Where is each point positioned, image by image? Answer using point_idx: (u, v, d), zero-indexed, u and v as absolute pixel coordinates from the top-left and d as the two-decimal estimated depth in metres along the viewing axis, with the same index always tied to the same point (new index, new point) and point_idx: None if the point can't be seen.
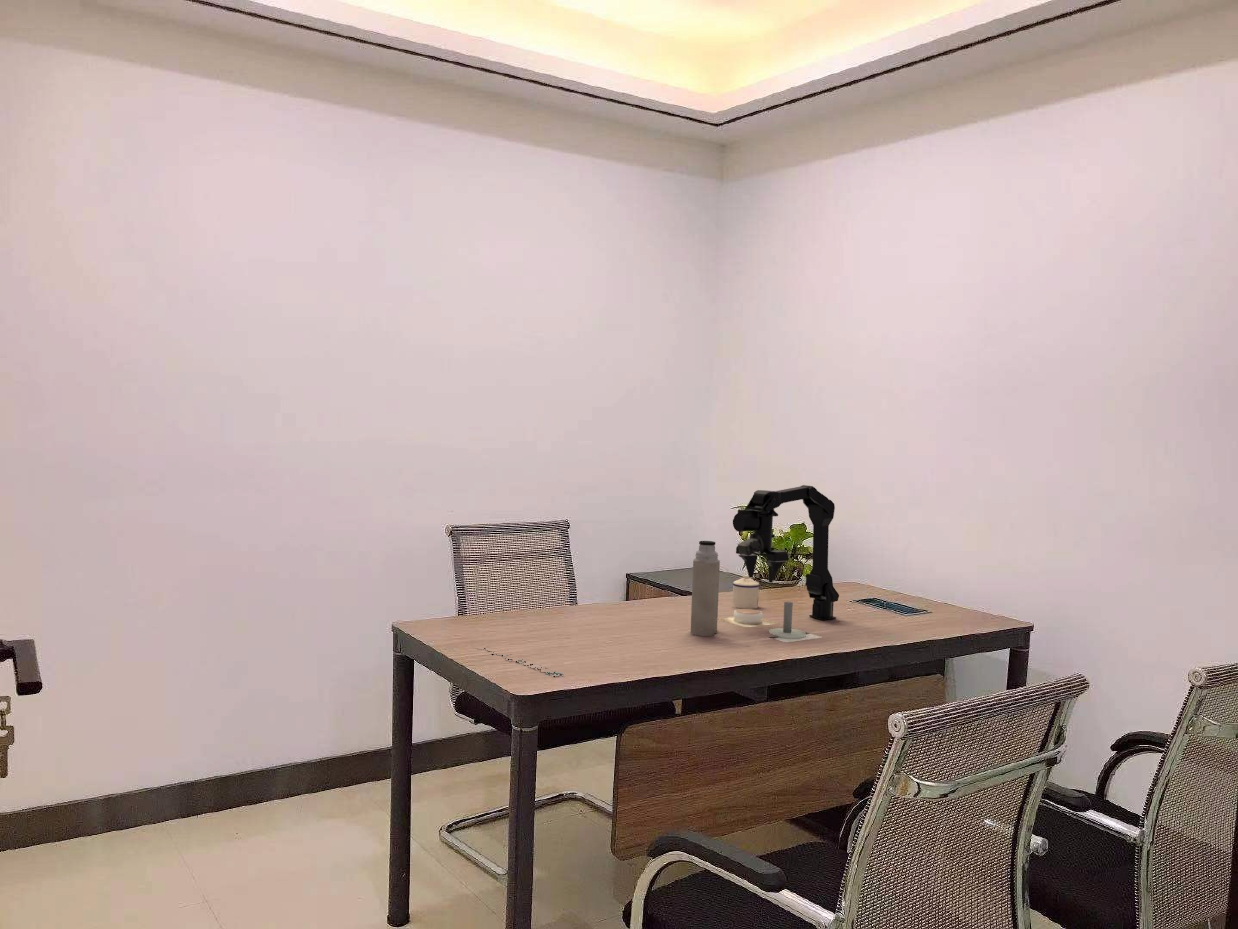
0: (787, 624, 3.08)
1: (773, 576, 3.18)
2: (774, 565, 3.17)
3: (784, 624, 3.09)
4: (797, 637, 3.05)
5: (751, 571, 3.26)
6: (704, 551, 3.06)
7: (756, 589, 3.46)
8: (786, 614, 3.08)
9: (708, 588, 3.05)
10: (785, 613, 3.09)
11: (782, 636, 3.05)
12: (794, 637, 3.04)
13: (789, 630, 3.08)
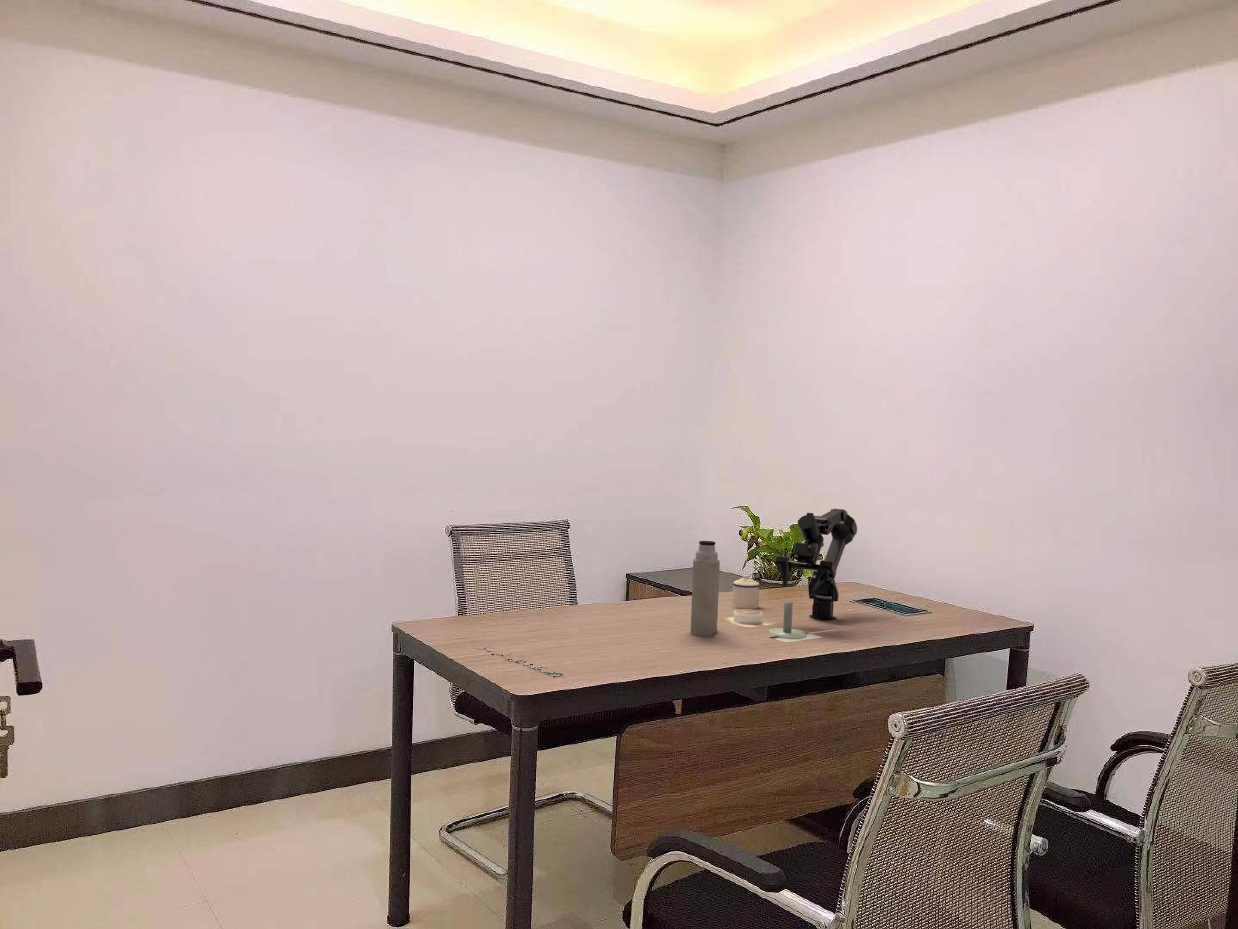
0: (787, 624, 3.08)
1: (816, 586, 3.15)
2: (820, 576, 3.17)
3: (784, 624, 3.09)
4: (797, 637, 3.05)
5: (785, 581, 3.20)
6: (704, 551, 3.06)
7: (756, 589, 3.46)
8: (786, 614, 3.08)
9: (708, 588, 3.05)
10: (785, 613, 3.09)
11: (782, 636, 3.05)
12: (794, 637, 3.04)
13: (789, 630, 3.08)
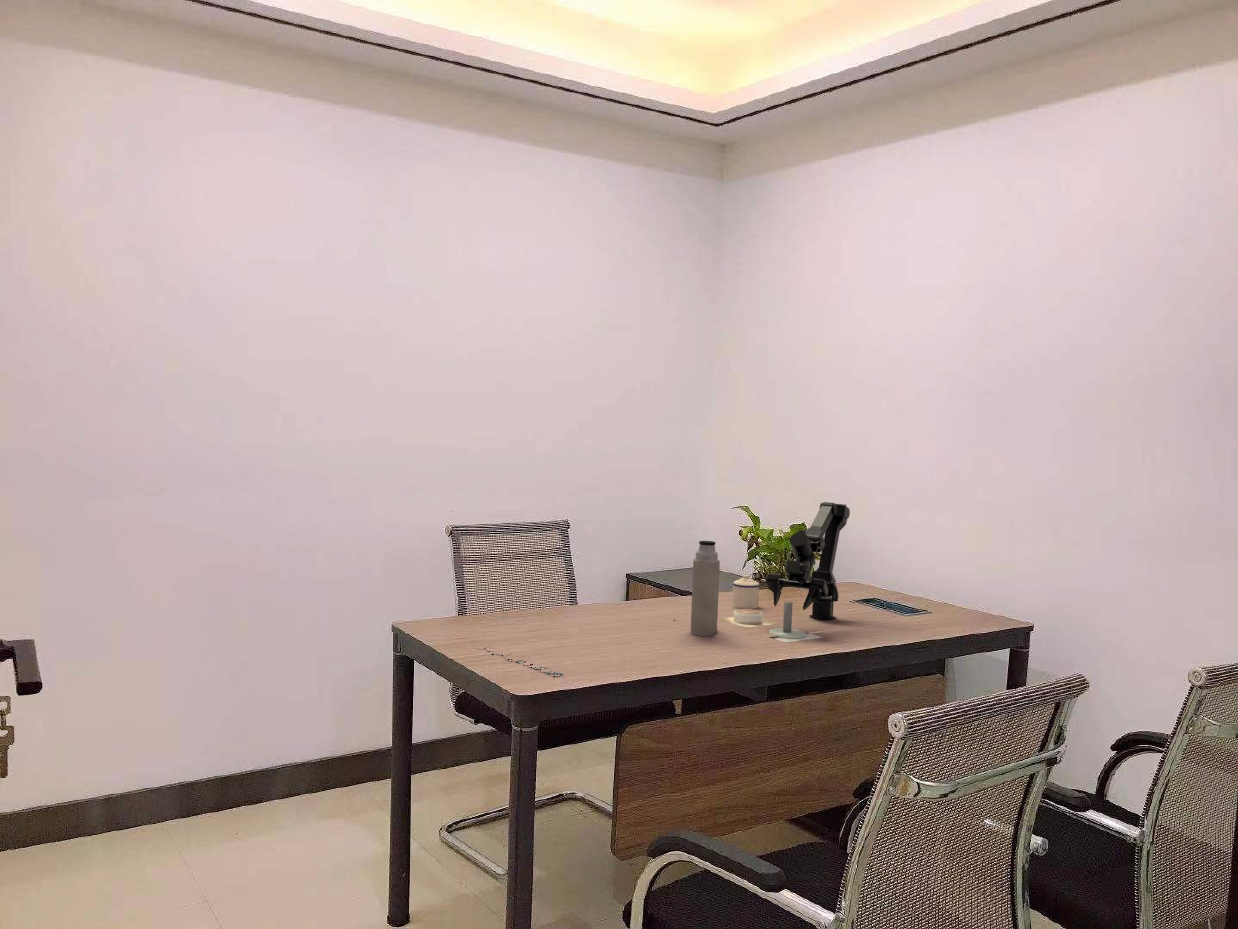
0: (787, 624, 3.08)
1: (808, 605, 3.09)
2: (812, 595, 3.10)
3: (784, 624, 3.09)
4: (797, 637, 3.05)
5: (776, 600, 3.13)
6: (704, 551, 3.06)
7: (756, 589, 3.46)
8: (786, 614, 3.08)
9: (708, 588, 3.05)
10: (785, 613, 3.09)
11: (782, 636, 3.05)
12: (794, 637, 3.04)
13: (789, 630, 3.08)
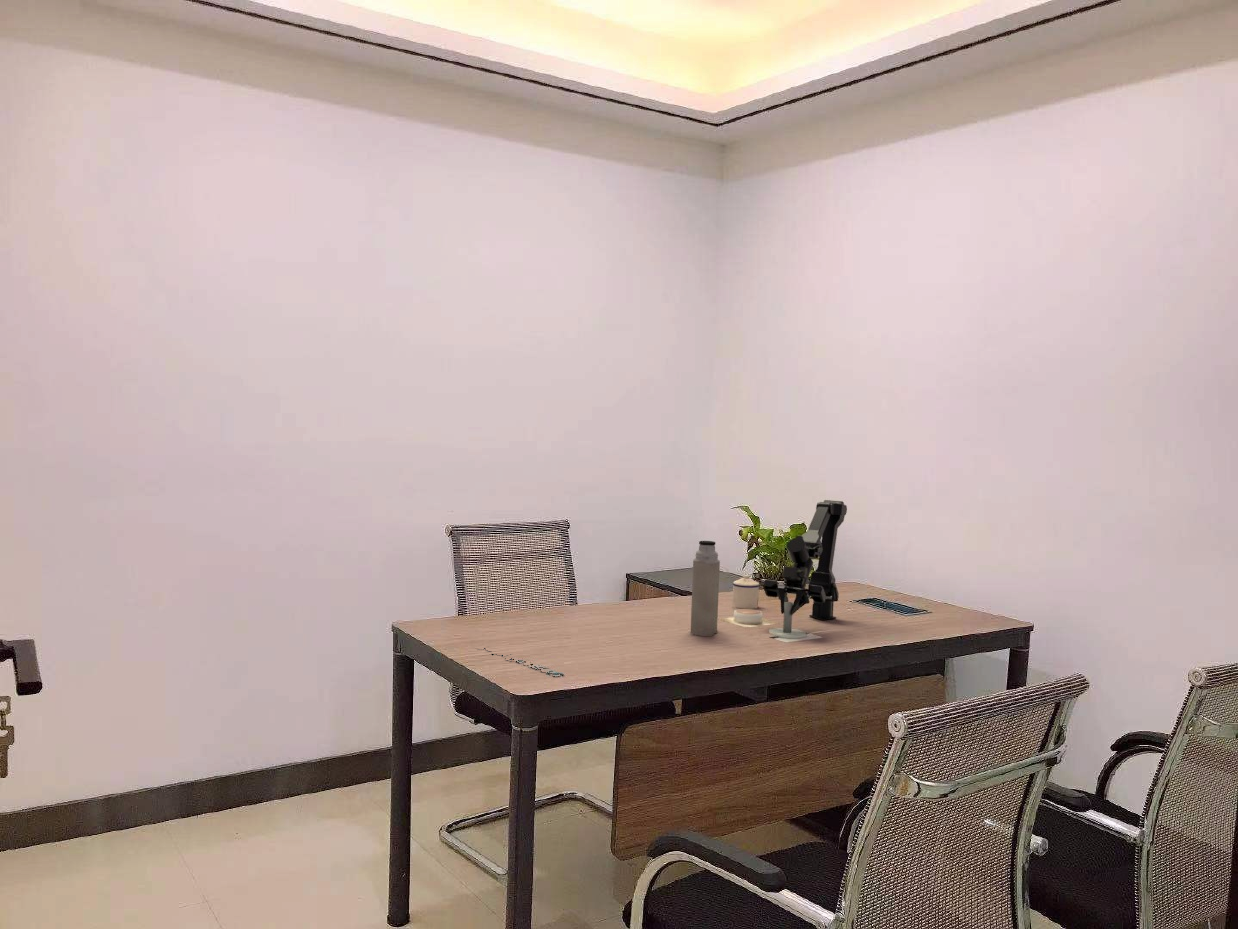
0: (787, 624, 3.08)
1: (795, 610, 3.09)
2: (799, 600, 3.10)
3: (784, 624, 3.09)
4: (797, 637, 3.05)
5: (783, 607, 3.10)
6: (704, 551, 3.06)
7: (756, 589, 3.46)
8: (786, 614, 3.08)
9: (708, 588, 3.05)
10: (785, 613, 3.09)
11: (782, 636, 3.05)
12: (794, 637, 3.04)
13: (789, 630, 3.08)
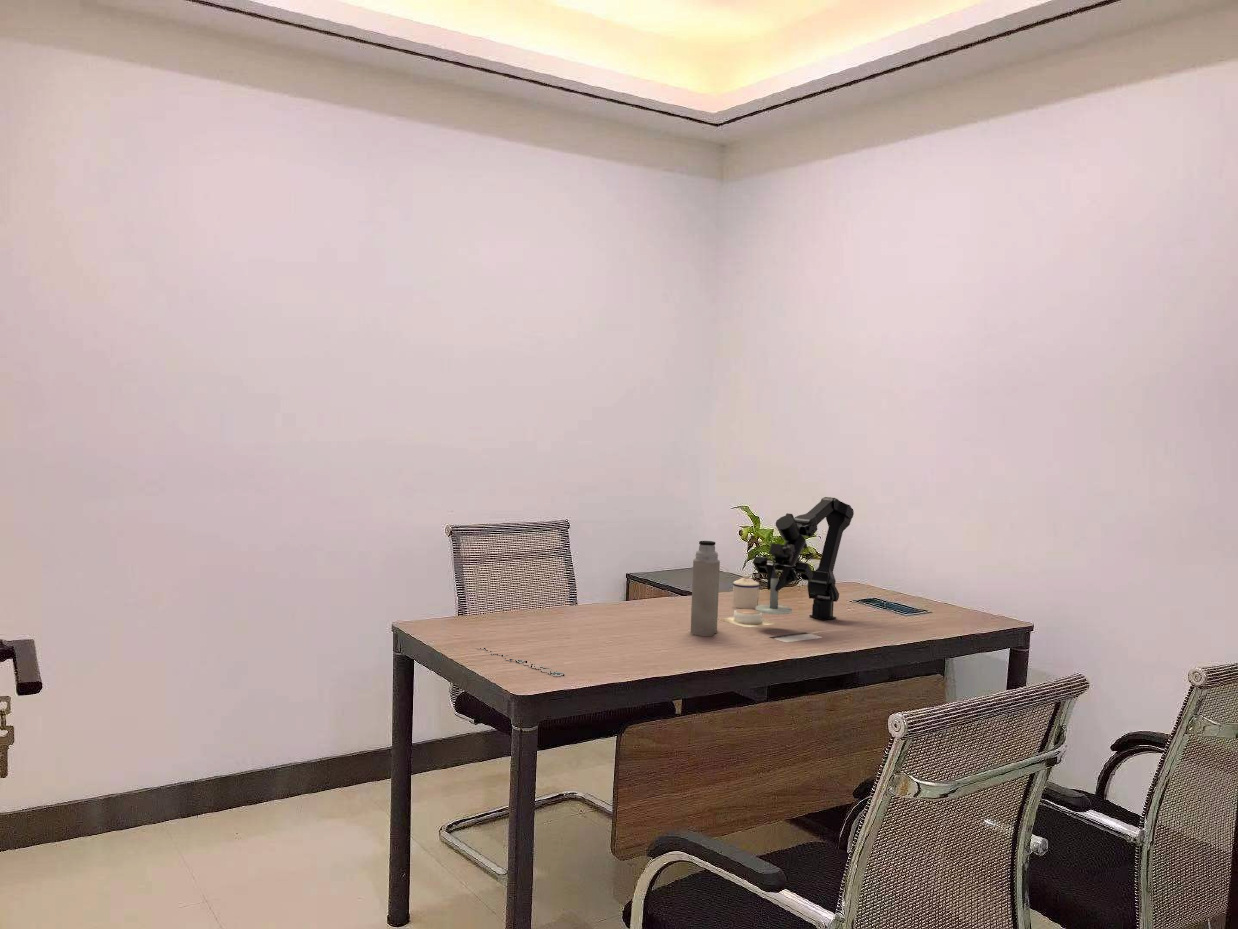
0: (773, 600, 3.12)
1: (781, 586, 3.12)
2: (786, 577, 3.13)
3: (770, 600, 3.13)
4: (781, 613, 3.08)
5: (770, 584, 3.14)
6: (704, 551, 3.06)
7: (756, 589, 3.46)
8: (772, 591, 3.12)
9: (708, 588, 3.05)
10: (771, 589, 3.12)
11: (766, 611, 3.09)
12: (777, 613, 3.08)
13: (774, 606, 3.12)
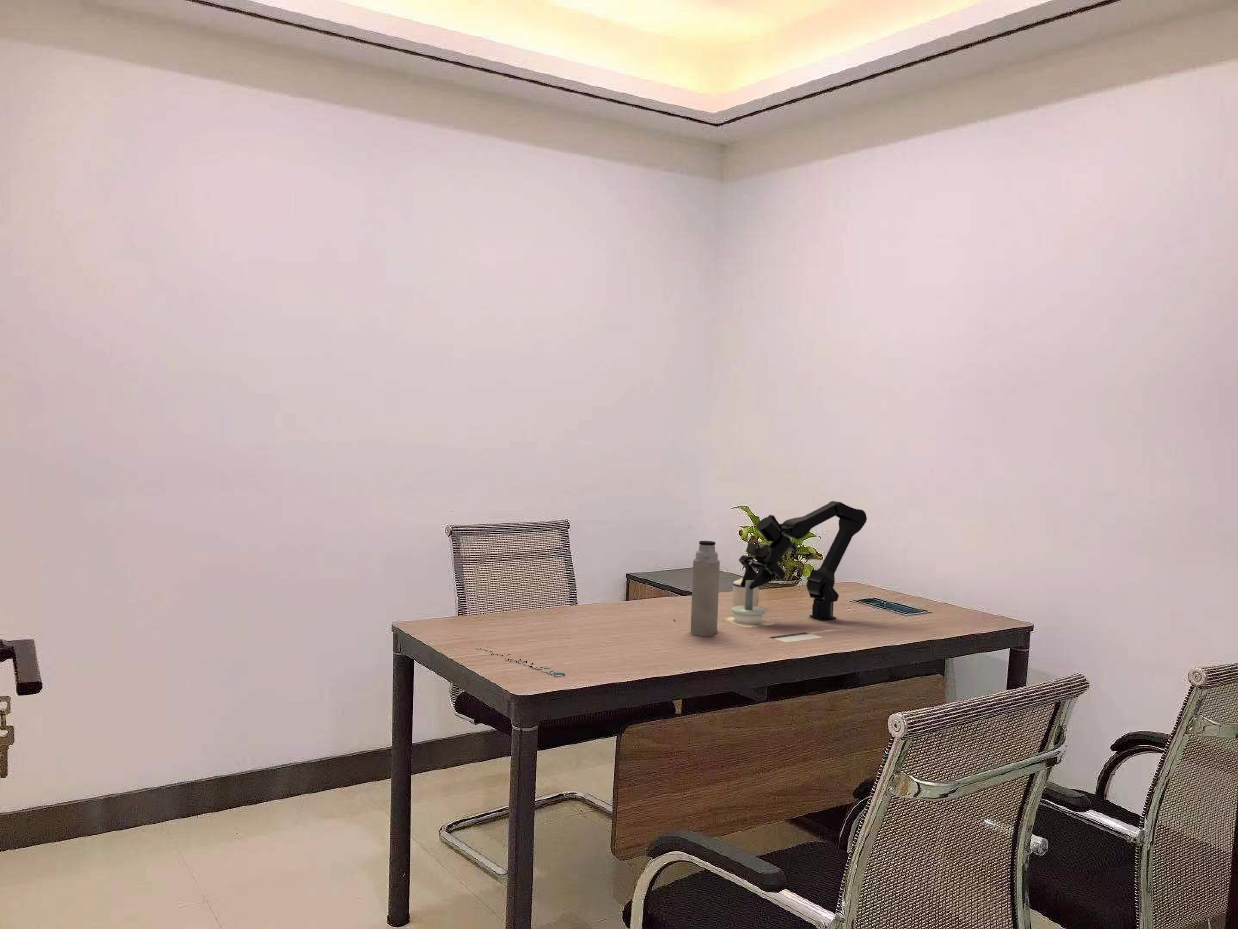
0: (746, 601, 3.23)
1: (755, 585, 3.21)
2: (763, 576, 3.22)
3: (745, 601, 3.24)
4: (748, 613, 3.19)
5: (745, 581, 3.26)
6: (704, 551, 3.06)
7: (756, 589, 3.46)
8: (746, 592, 3.23)
9: (708, 588, 3.05)
10: (745, 590, 3.24)
11: (735, 611, 3.21)
12: (745, 613, 3.19)
13: (748, 607, 3.23)
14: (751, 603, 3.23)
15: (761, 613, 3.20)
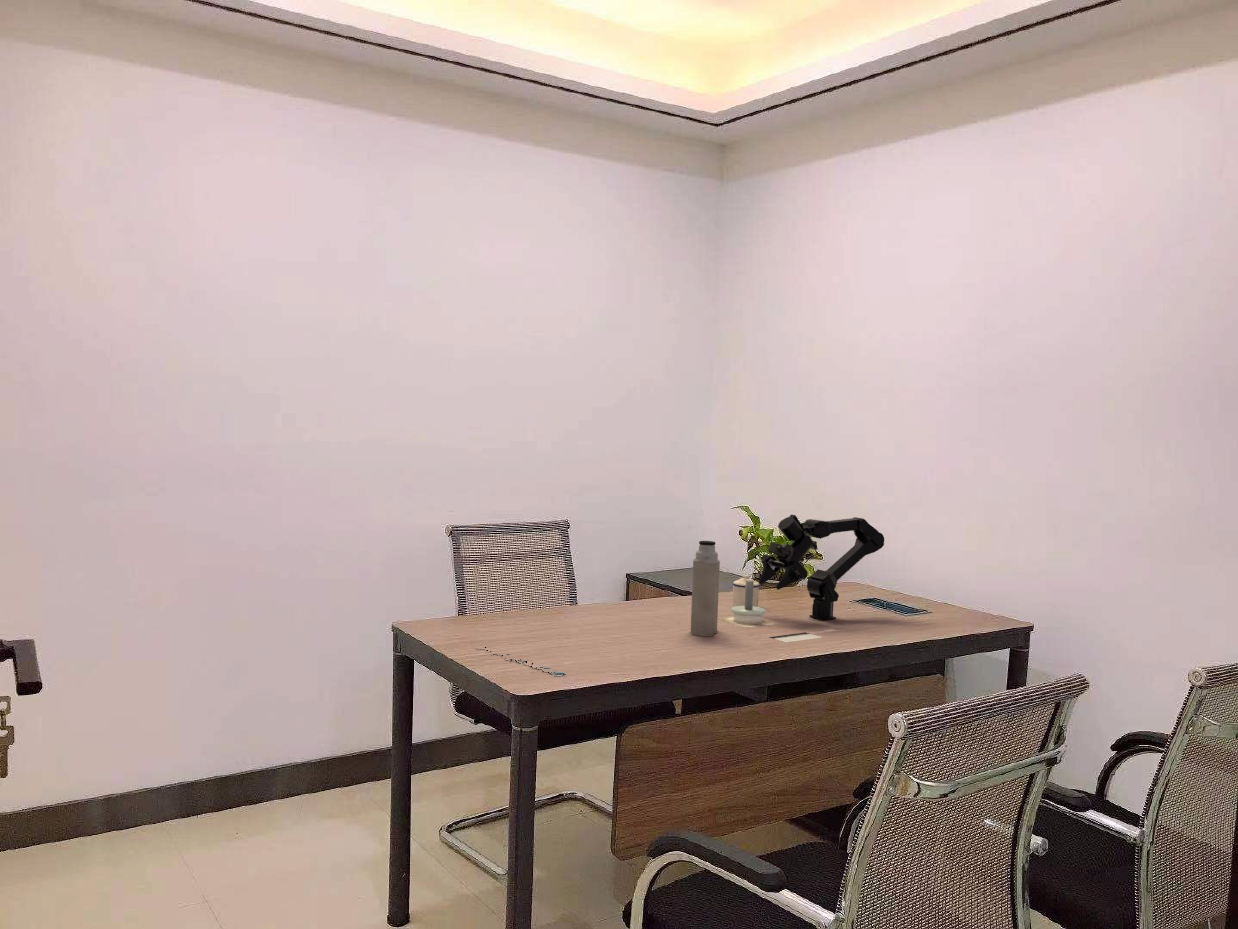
0: (746, 601, 3.23)
1: (782, 585, 3.23)
2: (789, 577, 3.24)
3: (745, 601, 3.24)
4: (748, 613, 3.19)
5: (763, 579, 3.32)
6: (704, 551, 3.06)
7: (756, 589, 3.46)
8: (746, 592, 3.23)
9: (708, 588, 3.05)
10: (745, 590, 3.24)
11: (735, 611, 3.21)
12: (745, 613, 3.19)
13: (748, 607, 3.23)
14: (751, 603, 3.23)
15: (761, 613, 3.20)
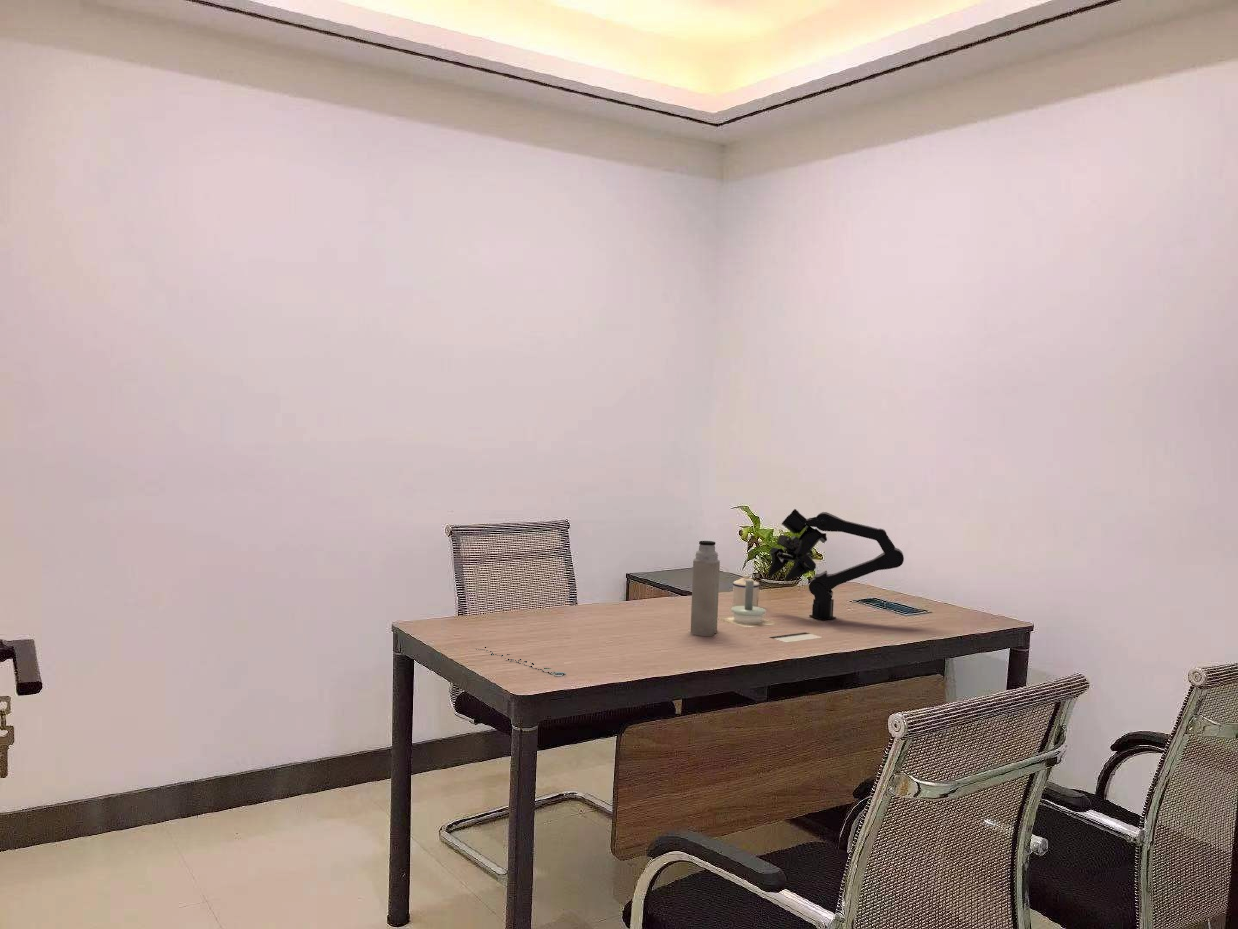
0: (746, 601, 3.23)
1: (791, 577, 3.29)
2: (798, 569, 3.30)
3: (745, 601, 3.24)
4: (748, 613, 3.19)
5: (772, 571, 3.38)
6: (704, 551, 3.06)
7: (756, 589, 3.46)
8: (746, 592, 3.23)
9: (708, 588, 3.05)
10: (745, 590, 3.24)
11: (735, 611, 3.21)
12: (745, 613, 3.19)
13: (748, 607, 3.23)
14: (751, 603, 3.23)
15: (761, 613, 3.20)
